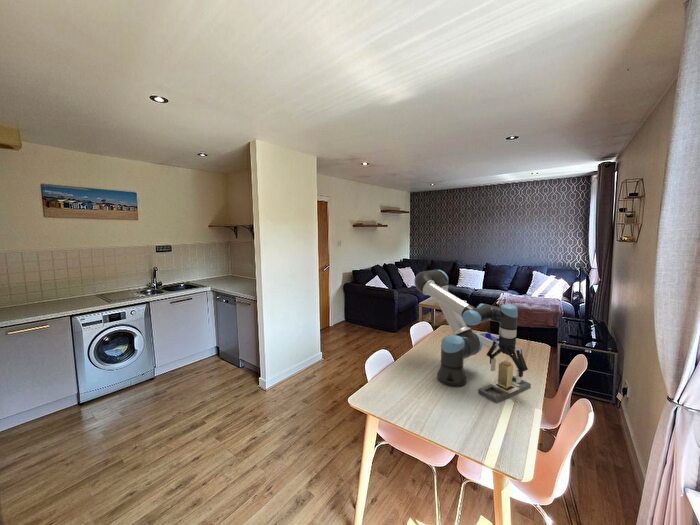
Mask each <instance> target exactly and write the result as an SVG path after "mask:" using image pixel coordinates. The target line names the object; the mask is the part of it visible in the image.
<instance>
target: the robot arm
mask: <svg viewBox="0 0 700 525" xmlns="http://www.w3.org/2000/svg"><path fill="white" fill-rule="evenodd" d="M414 286H415V288H416V289H417V291H419V292H420V293H422V294H423V295H424V296H429V297H431V298H432V299H434V300H435V301H436V302H437V304H438V306H439V307H440V309H441V312H442V313H443V315H444V318H445V320H446V322H447V324H448V325H449V326H448V327H450V330H451V332H452V334H451V335H446V336H444V337H442V339H441V344H440V366H439V369H438V371H437V376H436V378H437V381H438V382H440V384H443V385H445V386H448V387H454V388H456V387H457V388H459V387H463V386H465V385H466V384H467V379H468V378H467V375H466V372H465V369H464V364H465V363H464V362H465V361H464V360H465V359H467V358H470V357H473V356H476V355H477V354H479V353H480V352H481V351H482V348H483V344H482V340H481V338H480V336H479V335H478V334H476V333H477V332H473V330H472V328H471V327H469V326H477V325H479V324H482V323H485V322H488V321H489V322H490V321H492V322H496V323H499V330H498V334H499V335H498V337H499V342H498V341H493V345H492V347H491V348H490V347H489V349H488V351H487V352H486V357H489V364H490V372H494V371H496V361H497V359H496V357H497V356H498V355H499V354H501V353H502V354H503V355H507V356H509V357H510V358H511V360H512V361H513V363H514V364H515V366H516V368H517V369H516V376H515V377H516V382H515V383H516V384H518V383H519V382H521V380H522V378H523V377H524V372H526V371H528V370H529V369H528V366H527V363H526V361H525V359H524V355H523V350H522V349H521V348H520V349H518V348H516V344H517V328H518V316H519V315H518V312H519V311H518V307H517V306H516V305H513V304H506V303H505V304H502V305H500V306H494V305H490V304H487V303H479V304H478V305H477V307H475V306H473V305H471V304H469V303H467V302H466V301H464V300H463V299H461V298H459V296H456V295H455V294H453V293H451V292H449V276H448V275H447V273H446V272H445V271H443V270H441V269H432V270H426V271H425V270H423V271H419V273H417V274H416V275H415V277H414ZM497 346H499V348H500V349H495V348H496V347H497ZM495 350H496V351H495Z"/></svg>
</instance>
